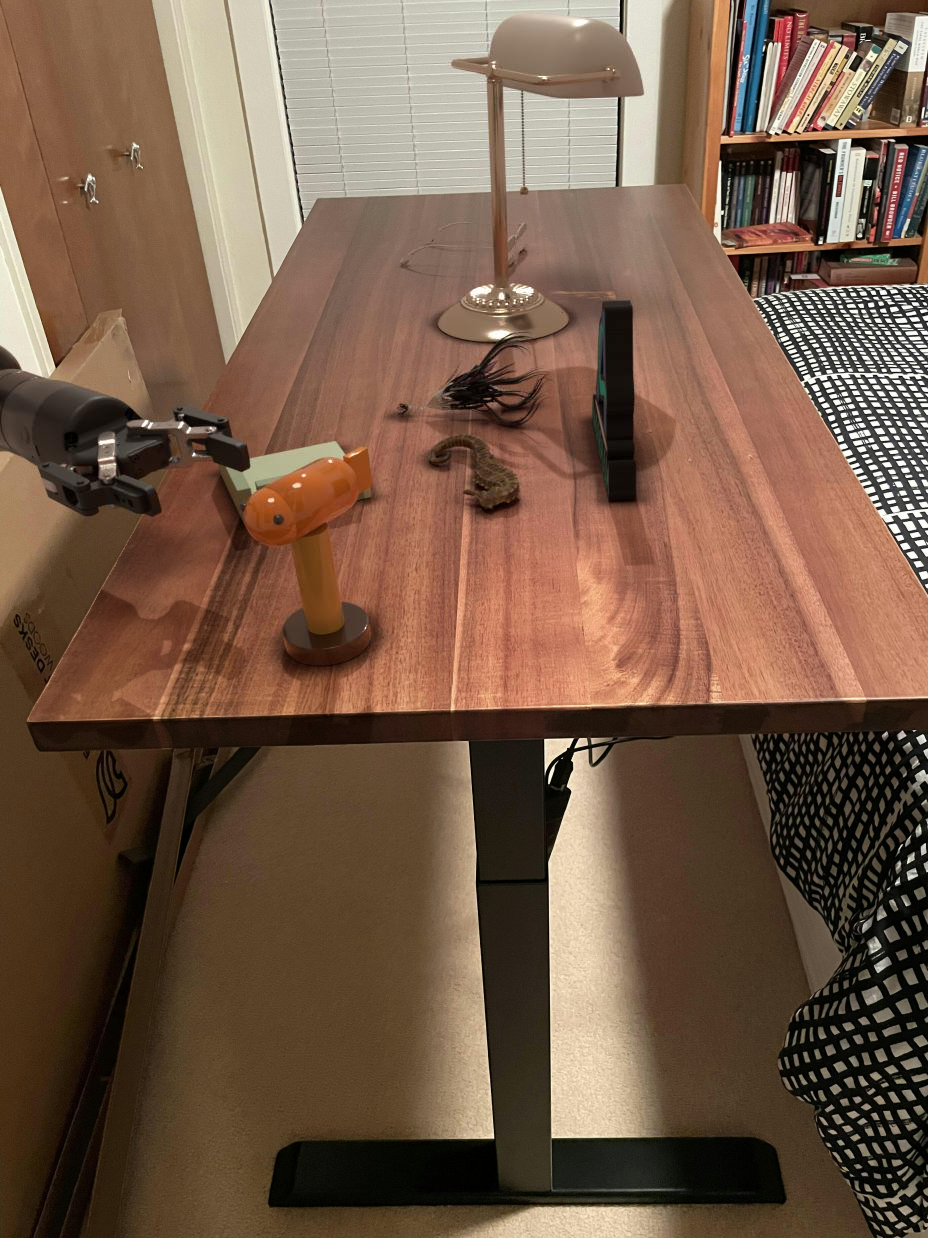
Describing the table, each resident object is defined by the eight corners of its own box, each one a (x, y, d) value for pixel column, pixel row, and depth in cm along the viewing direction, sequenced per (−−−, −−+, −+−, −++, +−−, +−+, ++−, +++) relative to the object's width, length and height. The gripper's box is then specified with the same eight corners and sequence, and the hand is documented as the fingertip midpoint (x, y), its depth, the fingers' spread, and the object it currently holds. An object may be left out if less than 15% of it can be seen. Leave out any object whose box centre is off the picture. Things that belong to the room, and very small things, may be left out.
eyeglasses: (507, 270, 151) (506, 243, 148) (397, 266, 155) (394, 240, 152) (528, 245, 163) (528, 219, 160) (426, 242, 166) (424, 217, 164)
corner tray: (245, 525, 87) (237, 490, 85) (220, 473, 96) (212, 440, 94) (371, 497, 91) (367, 462, 89) (337, 449, 100) (332, 417, 98)
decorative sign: (635, 501, 89) (644, 336, 79) (608, 502, 89) (614, 337, 79) (614, 419, 104) (619, 272, 94) (591, 420, 104) (594, 273, 94)
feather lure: (559, 422, 100) (538, 343, 95) (399, 458, 105) (371, 385, 100) (565, 391, 107) (546, 315, 102) (414, 426, 112) (389, 356, 107)
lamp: (651, 328, 127) (669, 15, 106) (482, 361, 119) (466, 31, 98) (558, 279, 146) (557, 6, 125) (407, 305, 138) (380, 19, 117)
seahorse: (473, 441, 99) (471, 424, 98) (534, 502, 89) (532, 483, 88) (424, 457, 98) (420, 440, 97) (479, 520, 87) (477, 502, 86)
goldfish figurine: (356, 589, 78) (331, 430, 70) (416, 613, 75) (398, 450, 67) (253, 656, 71) (212, 488, 63) (315, 686, 68) (280, 514, 60)
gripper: (155, 443, 86) (281, 488, 79) (9, 507, 77) (136, 565, 70) (132, 360, 82) (264, 399, 74) (-25, 418, 73) (106, 469, 65)
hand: (201, 480), depth 72 cm, fingers open, 8 cm apart
